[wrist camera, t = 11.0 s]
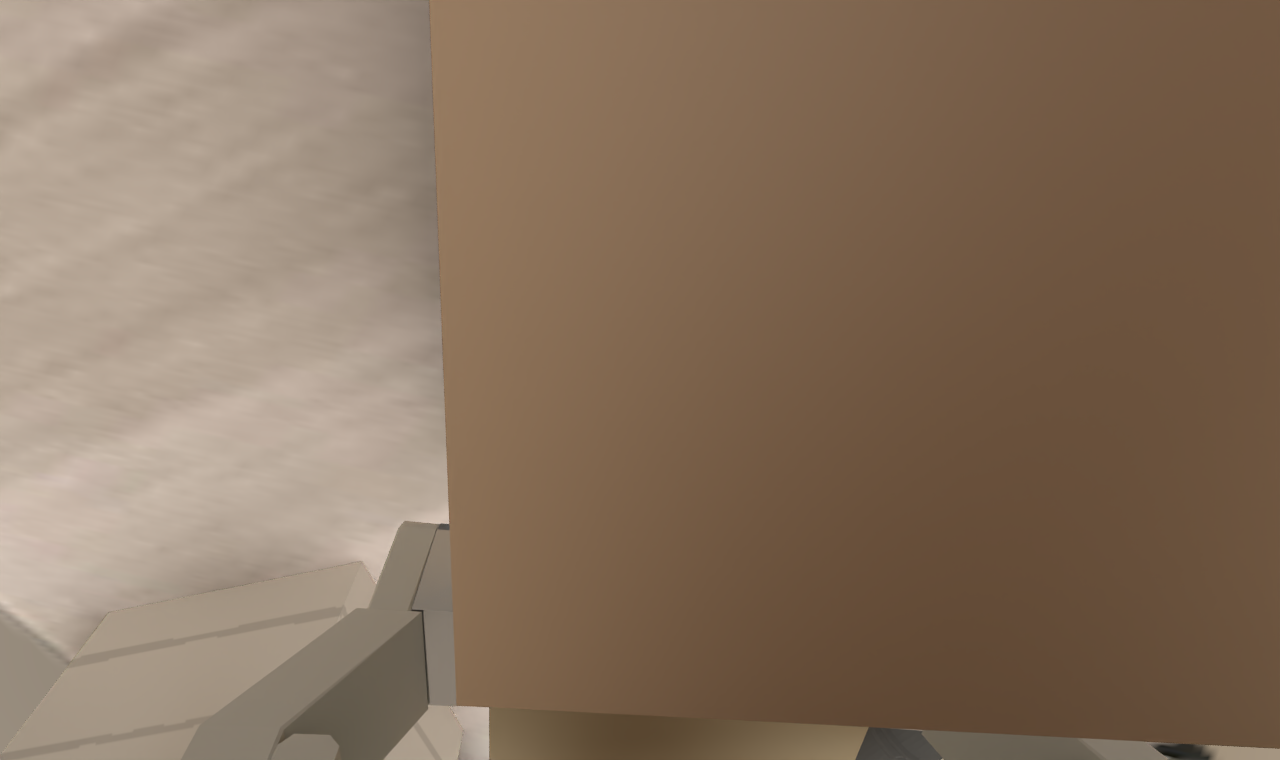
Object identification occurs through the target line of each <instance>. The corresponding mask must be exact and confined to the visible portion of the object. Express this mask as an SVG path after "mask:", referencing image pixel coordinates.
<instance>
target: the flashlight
mask: <svg viewBox="0 0 1280 760" xmlns="http://www.w3.org/2000/svg"><path fill="white" fill-rule="evenodd" d="M921 733H922V731H918V730H905V729H893V728H876V727H869V728H868V730H867V733H866V735H865V737H864V740H863V742H862V745H861V747H860V749H859V752H858V754H857V757H856V759H855V760H941V759H942V757H941V756H940V755H939V753H938V752H937V751H936V750H935V749H934V748H933V747H932V745H931V744H930V743H929V742H928V741H927V740H926V739H925V737H924V736H923V735H922V734H921Z"/></svg>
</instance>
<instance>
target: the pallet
mask: <svg viewBox="0 0 1280 760" xmlns="http://www.w3.org/2000/svg"><path fill="white" fill-rule="evenodd" d="M868 728H869V727H857V726H838V725H819V724H800V723H781V722H762V721H743V720H724V719H705V718H686V717H667V716H648V715H628V714H609V713H590V712H571V711H552V710H533V709H514V708H495V707H489V760H855V759H856V757H857V754H858V752H859V749H860V747H861V745H862V742H863V740H864V737H865V735H866V733H867V730H868Z"/></svg>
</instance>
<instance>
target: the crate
mask: <svg viewBox="0 0 1280 760" xmlns="http://www.w3.org/2000/svg"><path fill="white" fill-rule="evenodd" d="M429 9H430V35H431V61H432V87H433V112H434V138H435V164H436V190H437V215H438V241H439V267H440V293H441V319H442V345H443V370H444V396H445V422H446V448H447V474H448V499H449V525H450V551H451V577H452V603H453V628H454V654H455V680H456V705H457V706H476V707H495V708H514V709H533V710H552V711H571V712H590V713H609V714H628V715H648V716H667V717H686V718H705V719H724V720H743V721H762V722H781V723H800V724H819V725H838V726H857V727H876V728H895V729H915V730H934V731H953V732H972V733H991V734H1010V735H1029V736H1048V737H1067V738H1086V739H1105V740H1124V741H1143V742H1163V743H1182V744H1201V745H1220V746H1239V747H1258V748H1277V749H1279V748H1280V0H429Z"/></svg>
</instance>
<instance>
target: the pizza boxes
mask: <svg viewBox="0 0 1280 760" xmlns="http://www.w3.org/2000/svg"><path fill="white" fill-rule="evenodd" d="M375 588H376V584H375V582H374V580H373V579H372V577H371V575H370V574H369V572H368V570H367V569H366V567H365V565H364V564H363V562H362V561H361V562H356V563H351V564H346V565H341V566H336V567H331V568H326V569H321V570H316V571H311V572H306V573H301V574H296V575H291V576H286V577H281V578H277V579H272V580H267V581H262V582H257V583H252V584H247V585H242V586H237V587H232V588H227V589H222V590H217V591H212V592H207V593H202V594H197V595H192V596H187V597H182V598H177V599H172V600H167V601H162V602H157V603H152V604H147V605H142V606H137V607H132V608H127V609H122V610H117V611H112V612H109V613H108V614H107V615H106V617H105V618H104V619H103V620H102V622H101V623H100V624H99V626H98V627H97V628H96V630H95V631H94V632H93V634H92V635H91V636H90V638H89V639H88V640H87V642H86V643H85V644H84V645H83V647H82V648H81V649H80V651H79V652H78V653H77V655H76V656H75V657H74V659H73V660H72V661H71V663H70V664H69V665H68V667H67V668H66V669H65V670H64V672H63V673H62V675H61V676H60V677H59V679H58V680H57V681H56V682H55V684H54V685H53V687H52V688H51V689H50V690H49V692H48V693H47V694H46V695H45V697H44V698H43V699H42V701H41V702H40V703H39V705H38V706H37V707H36V709H35V710H34V711H33V713H32V714H31V715H30V717H29V718H28V719H27V721H26V722H25V723H24V725H23V726H22V727H21V728H20V730H19V731H18V732H17V734H16V735H15V736H14V738H13V739H12V740H11V742H10V743H9V744H8V745H7V747H6V748H5V750H4V751H3V752H2V754H1V755H0V760H181V758H182V756H183V755H184V753H185V751H186V749H187V747H188V745H189V744H190V742H191V740H192V738H193V736H194V735H195V733H196V731H197V729H198V727H199V725H201V724H202V723H203V722H205V721H206V720H207V719H209V718H210V717H211V716H213V715H214V714H215V713H217V712H218V711H219V710H221V709H222V708H223V707H225V706H226V705H227V704H229V703H230V702H231V701H233V700H234V699H235V698H237V697H238V696H239V695H241V694H242V693H243V692H245V691H246V690H247V689H249V688H250V687H251V686H253V685H254V684H255V683H257V682H258V681H259V680H261V679H262V678H263V677H265V676H266V675H267V674H269V673H270V672H271V671H273V670H274V669H275V668H277V667H278V666H279V665H281V664H282V663H283V662H285V661H286V660H287V659H289V658H290V657H292V656H293V655H294V654H296V653H297V652H298V651H300V650H301V649H302V648H304V647H305V646H306V645H308V644H309V643H310V642H312V641H313V640H314V639H316V638H317V637H318V636H320V635H321V634H322V633H324V632H325V631H326V630H328V629H329V628H330V627H332V626H333V625H334V624H336V623H337V622H338V621H340V620H341V619H342V618H344V617H345V616H346V615H348V614H349V613H350V612H352V611H353V610H354V609H356V608H368V606H369V603H370V600H371V598H372V595H373V593H374V590H375ZM463 731H464V730H463V729H462V727H461V725H460V724H459V722H458V720H457V719H456V717H455V715H454V714H453V712H452V710H451V709H450V707H449V706H437V705H428V710H427V711H426V712H425V713H424V714H423V716H422V717H421V718H420V719H419V720H418V721H417V722H416V724H415V725H414V726H413V727H412V728H411V729H410V730H409V731H408V733H407V734H406V735H405V736H404V737H403V738H402V739H401V740H400V742H399V743H398V744H397V745H396V746H395V747H394V748H393V749H392V751H391V752H390V753H389V754H388V755H387V756H386V757H385V758H384V760H458V756H459V751H460V746H461V741H462V736H463Z"/></svg>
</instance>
